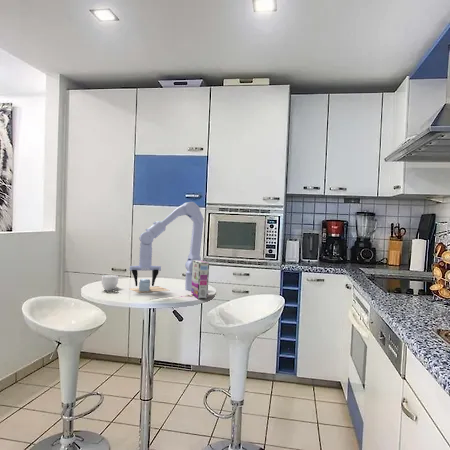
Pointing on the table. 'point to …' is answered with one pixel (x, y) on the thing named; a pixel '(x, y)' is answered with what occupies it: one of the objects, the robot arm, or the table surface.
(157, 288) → the post board
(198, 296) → the candy bar box
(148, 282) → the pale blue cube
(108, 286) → the cup
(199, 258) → the robot arm
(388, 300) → the table surface
